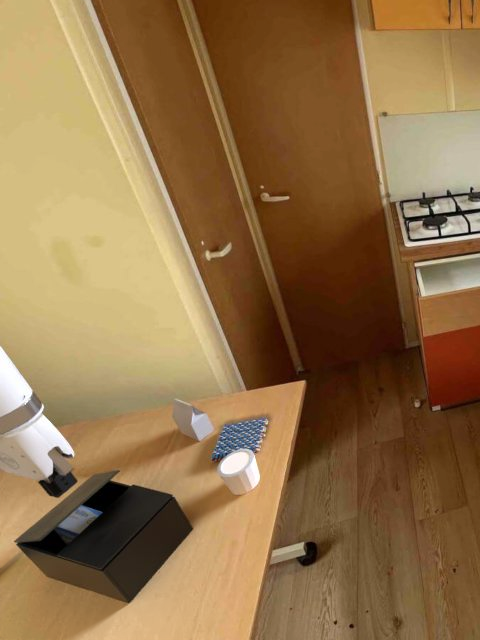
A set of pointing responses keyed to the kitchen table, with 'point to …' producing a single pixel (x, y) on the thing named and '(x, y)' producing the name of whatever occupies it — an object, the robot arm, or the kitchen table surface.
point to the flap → (66, 507)
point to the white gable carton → (191, 420)
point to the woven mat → (240, 438)
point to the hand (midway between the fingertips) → (64, 488)
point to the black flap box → (115, 542)
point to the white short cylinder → (239, 471)
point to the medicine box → (76, 523)
